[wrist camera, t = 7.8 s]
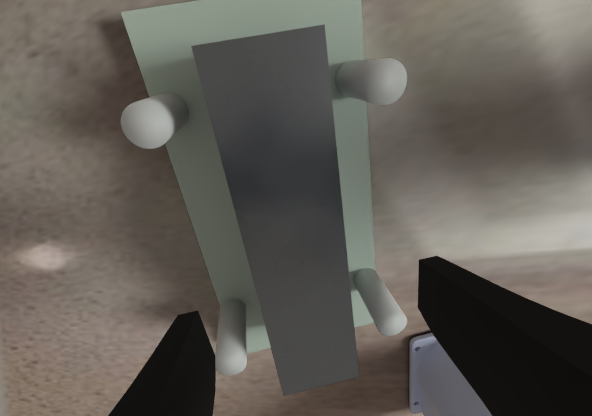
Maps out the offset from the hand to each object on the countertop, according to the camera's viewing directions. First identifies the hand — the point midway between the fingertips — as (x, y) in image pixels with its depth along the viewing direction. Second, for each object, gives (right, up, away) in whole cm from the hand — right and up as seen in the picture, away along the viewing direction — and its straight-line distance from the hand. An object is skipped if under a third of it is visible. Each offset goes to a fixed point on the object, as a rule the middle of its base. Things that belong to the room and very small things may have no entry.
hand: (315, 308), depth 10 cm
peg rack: (-2, +4, +8) cm, 9 cm away
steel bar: (-1, +3, +7) cm, 8 cm away
